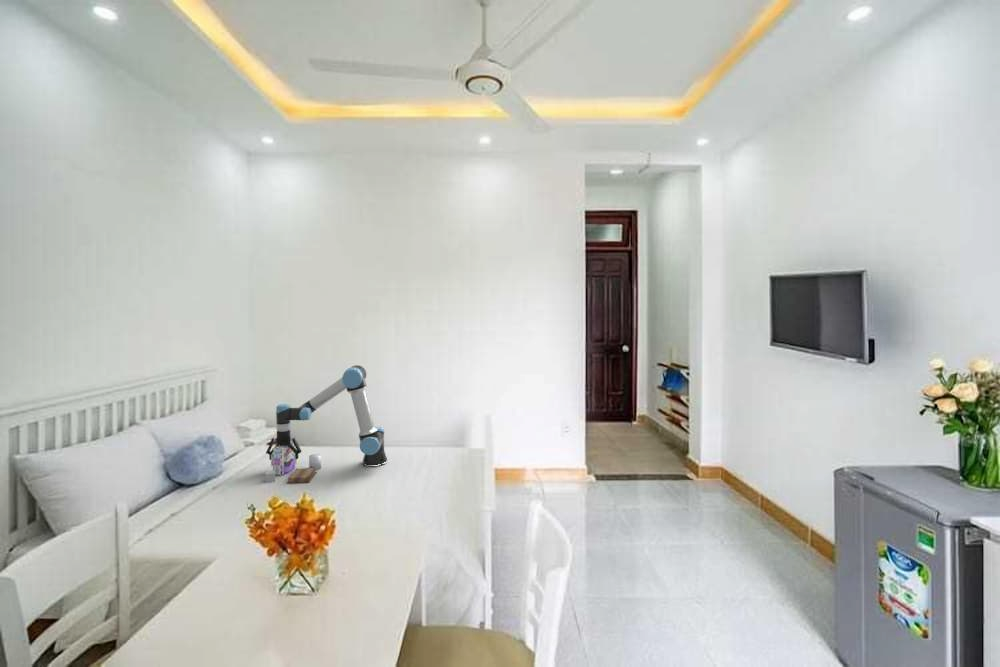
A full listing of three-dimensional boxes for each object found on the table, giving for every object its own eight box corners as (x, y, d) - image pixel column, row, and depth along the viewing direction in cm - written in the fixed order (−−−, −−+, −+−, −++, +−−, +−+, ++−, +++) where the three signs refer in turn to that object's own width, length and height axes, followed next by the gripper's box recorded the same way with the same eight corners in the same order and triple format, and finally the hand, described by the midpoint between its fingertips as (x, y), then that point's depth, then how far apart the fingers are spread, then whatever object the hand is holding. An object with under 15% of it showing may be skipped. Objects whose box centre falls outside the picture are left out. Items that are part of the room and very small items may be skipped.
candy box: (281, 476, 301) (281, 448, 300) (272, 475, 302) (272, 448, 301) (295, 468, 314) (294, 442, 313) (286, 467, 315) (286, 441, 314)
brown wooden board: (316, 472, 306) (316, 467, 306) (308, 482, 289) (308, 477, 289) (296, 473, 305) (296, 468, 305) (286, 483, 288) (286, 478, 288)
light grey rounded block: (322, 466, 318) (322, 453, 318) (319, 470, 311) (319, 457, 311) (311, 466, 318) (310, 454, 317) (307, 470, 311) (307, 457, 310)
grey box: (274, 478, 296) (274, 470, 296) (275, 481, 292) (274, 473, 291) (265, 480, 294) (265, 471, 294) (265, 482, 289) (265, 474, 289)
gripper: (306, 428, 311) (306, 462, 312) (264, 428, 309) (265, 463, 310) (302, 431, 304) (303, 466, 305) (259, 431, 301) (260, 467, 303)
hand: (284, 464), depth 308 cm, fingers open, 13 cm apart
